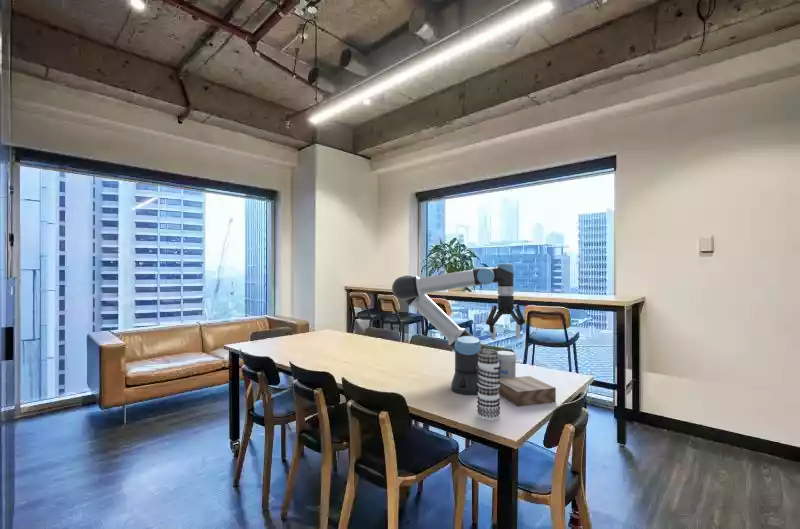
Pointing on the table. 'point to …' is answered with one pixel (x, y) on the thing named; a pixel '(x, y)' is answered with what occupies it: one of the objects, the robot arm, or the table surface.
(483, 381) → the decorative candle
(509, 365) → the supplement tub
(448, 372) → the table surface
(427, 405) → the table surface
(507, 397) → the walnut riser
